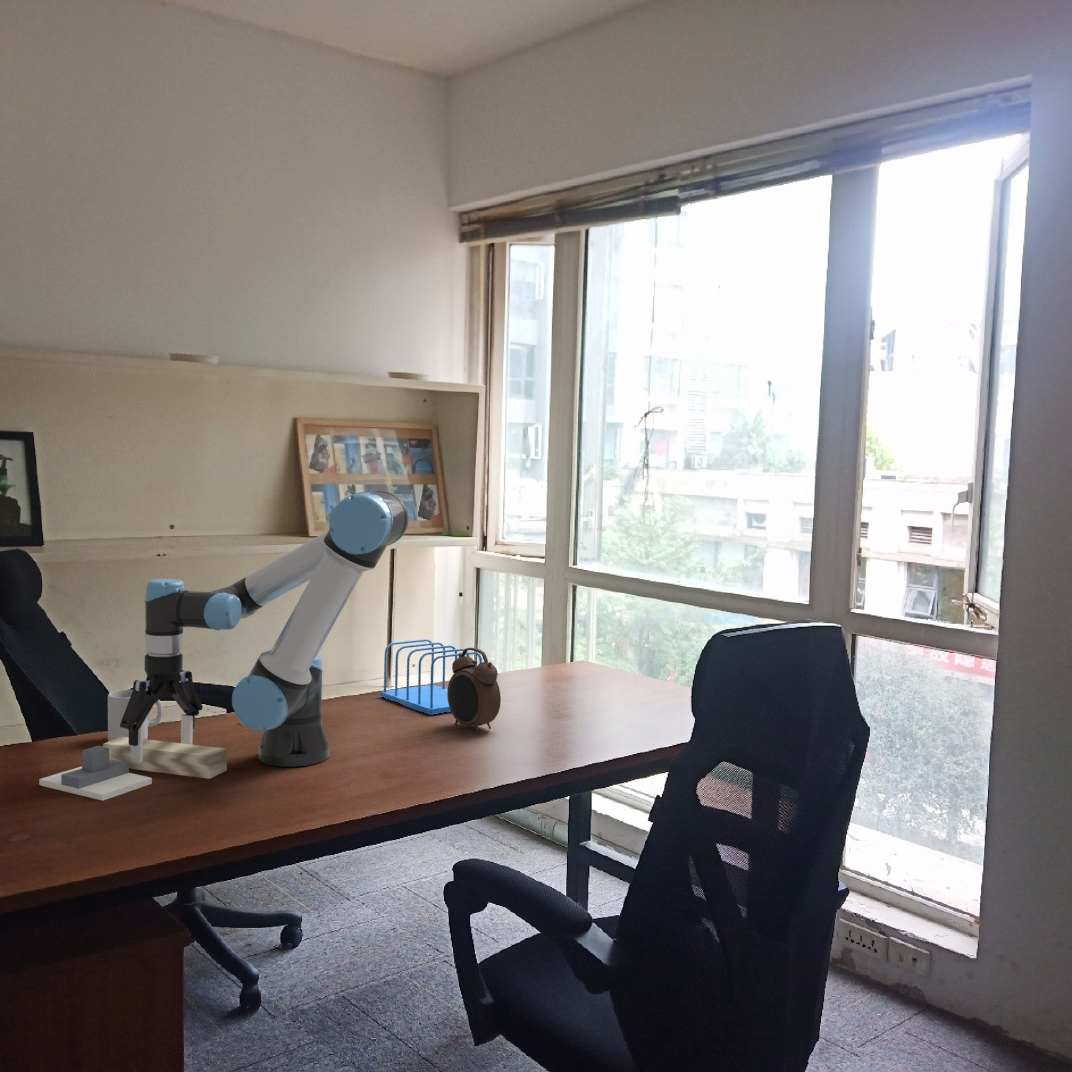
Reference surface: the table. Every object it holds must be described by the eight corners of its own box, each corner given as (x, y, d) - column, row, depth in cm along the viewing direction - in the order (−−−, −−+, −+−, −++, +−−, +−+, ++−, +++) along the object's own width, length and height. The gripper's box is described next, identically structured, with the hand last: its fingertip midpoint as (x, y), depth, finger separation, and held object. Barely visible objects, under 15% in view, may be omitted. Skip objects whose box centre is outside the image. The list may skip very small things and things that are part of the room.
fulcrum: (151, 783, 212) (151, 748, 211) (102, 800, 201) (102, 763, 201) (89, 769, 220) (89, 735, 220) (39, 785, 210) (38, 749, 209)
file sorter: (485, 708, 281) (486, 651, 280) (430, 717, 270) (431, 658, 269) (432, 690, 300) (433, 636, 299) (379, 698, 289) (380, 642, 288)
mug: (113, 747, 236) (113, 699, 236) (103, 738, 243) (103, 692, 242) (167, 740, 244) (167, 693, 243) (156, 731, 250) (156, 686, 250)
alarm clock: (442, 725, 262) (443, 645, 260) (464, 720, 267) (466, 642, 265) (479, 738, 251) (481, 655, 249) (502, 732, 256) (504, 651, 254)
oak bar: (226, 772, 222) (226, 748, 221) (209, 780, 216) (209, 756, 216) (122, 758, 229) (122, 736, 229) (103, 766, 224) (103, 743, 223)
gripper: (195, 642, 234) (193, 736, 235) (102, 660, 211) (101, 763, 213) (220, 646, 230) (218, 741, 232) (128, 665, 208) (127, 770, 210)
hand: (162, 752), depth 223 cm, fingers open, 13 cm apart
